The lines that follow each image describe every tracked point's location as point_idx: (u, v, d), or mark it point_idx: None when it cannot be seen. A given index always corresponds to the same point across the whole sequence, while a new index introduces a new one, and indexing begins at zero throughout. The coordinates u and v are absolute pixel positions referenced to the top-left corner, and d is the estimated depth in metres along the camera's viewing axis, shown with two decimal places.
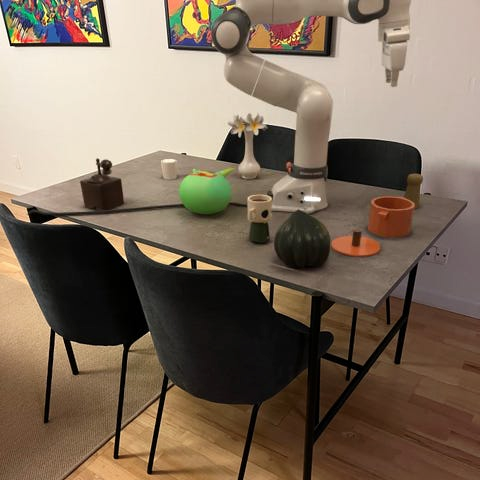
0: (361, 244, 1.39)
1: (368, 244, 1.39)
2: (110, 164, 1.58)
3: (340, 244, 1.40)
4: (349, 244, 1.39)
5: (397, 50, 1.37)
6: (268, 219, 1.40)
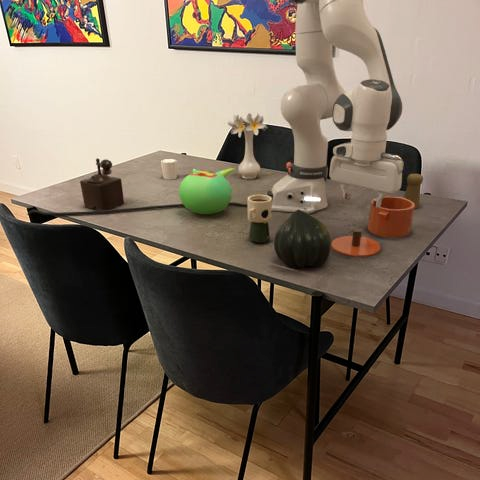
0: (361, 244, 1.39)
1: (368, 244, 1.39)
2: (110, 164, 1.58)
3: (340, 244, 1.40)
4: (349, 244, 1.39)
5: None
6: (268, 219, 1.40)
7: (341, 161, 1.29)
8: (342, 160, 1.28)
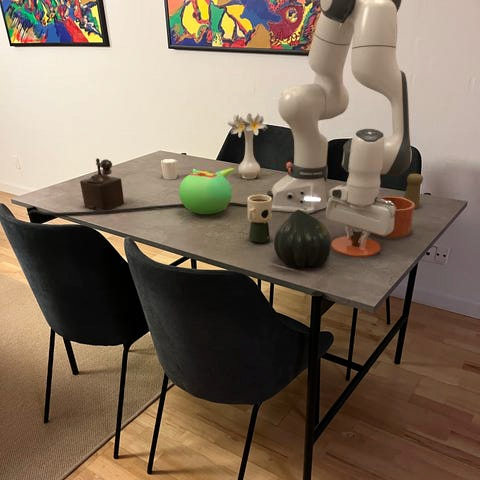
0: (361, 244, 1.39)
1: (368, 244, 1.39)
2: (110, 164, 1.58)
3: (340, 244, 1.40)
4: (349, 244, 1.39)
5: None
6: (268, 219, 1.40)
7: (337, 202, 1.35)
8: (338, 202, 1.35)
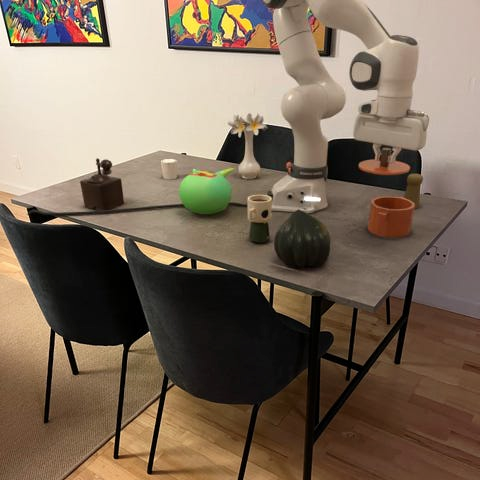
0: (390, 165, 1.34)
1: (397, 165, 1.34)
2: (110, 164, 1.58)
3: (368, 165, 1.35)
4: (377, 165, 1.34)
5: None
6: (268, 219, 1.40)
7: (366, 119, 1.30)
8: (367, 118, 1.30)
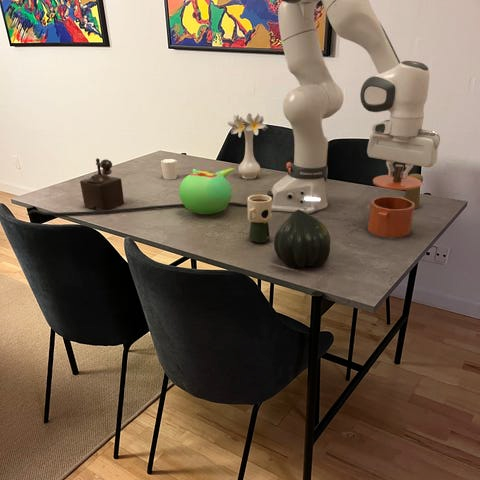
0: (402, 180, 1.42)
1: (409, 180, 1.42)
2: (110, 164, 1.58)
3: (382, 180, 1.43)
4: (390, 180, 1.42)
5: None
6: (268, 219, 1.40)
7: (379, 138, 1.39)
8: (380, 137, 1.38)
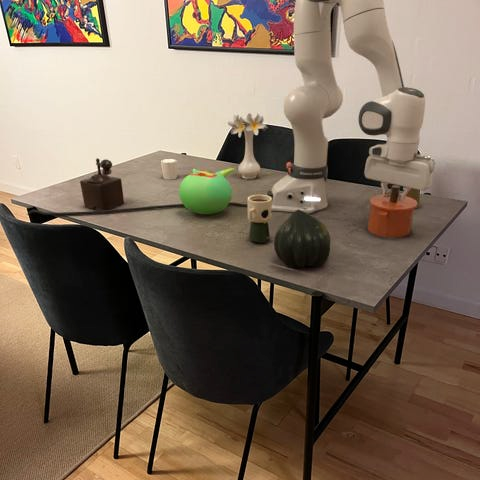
0: (398, 200, 1.46)
1: (405, 200, 1.46)
2: (110, 164, 1.58)
3: (379, 200, 1.46)
4: (387, 200, 1.46)
5: None
6: (268, 219, 1.40)
7: (376, 160, 1.42)
8: (377, 160, 1.41)
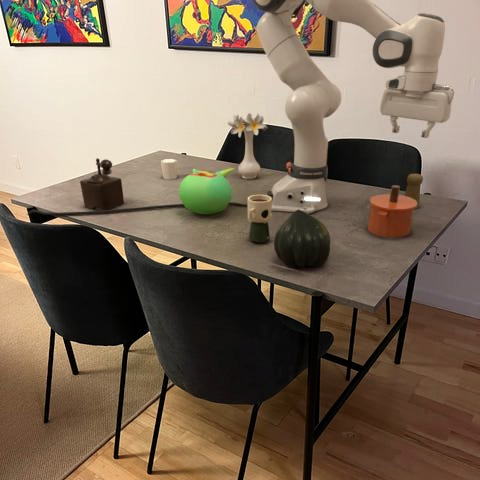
0: (398, 200, 1.46)
1: (405, 200, 1.46)
2: (110, 164, 1.58)
3: (379, 200, 1.46)
4: (387, 200, 1.46)
5: None
6: (268, 219, 1.40)
7: (393, 94, 1.39)
8: (394, 93, 1.38)
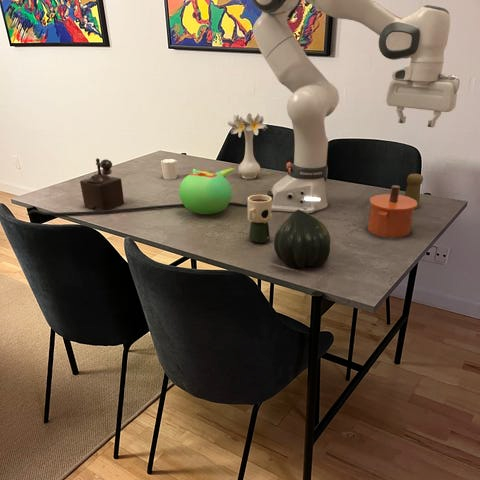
0: (398, 200, 1.46)
1: (405, 200, 1.46)
2: (110, 164, 1.58)
3: (379, 200, 1.46)
4: (387, 200, 1.46)
5: None
6: (268, 219, 1.40)
7: (399, 85, 1.42)
8: (400, 84, 1.41)
